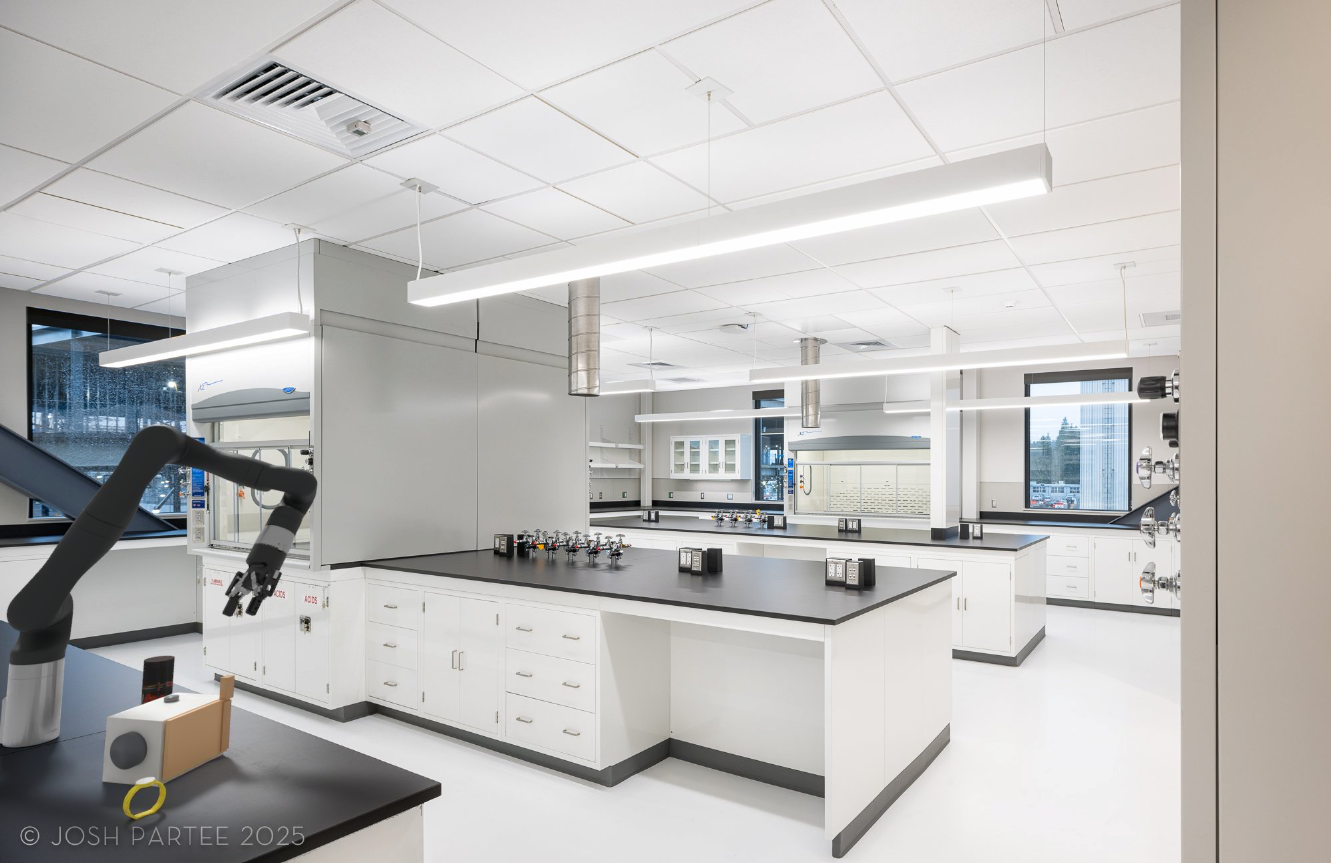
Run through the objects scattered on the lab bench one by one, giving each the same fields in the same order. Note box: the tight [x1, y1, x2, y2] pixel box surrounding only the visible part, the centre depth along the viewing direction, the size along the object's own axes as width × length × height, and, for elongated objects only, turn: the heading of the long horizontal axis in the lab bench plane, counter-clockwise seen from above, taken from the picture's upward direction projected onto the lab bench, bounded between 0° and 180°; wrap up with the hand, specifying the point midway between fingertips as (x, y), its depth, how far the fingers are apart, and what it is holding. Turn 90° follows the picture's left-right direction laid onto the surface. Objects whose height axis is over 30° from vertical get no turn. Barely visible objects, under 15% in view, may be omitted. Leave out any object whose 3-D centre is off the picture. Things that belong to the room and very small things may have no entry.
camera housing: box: [102, 692, 224, 788], centre depth 140 cm, size 12×18×13 cm
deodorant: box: [140, 655, 176, 705], centre depth 165 cm, size 6×6×15 cm
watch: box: [122, 777, 167, 820], centre depth 121 cm, size 6×3×6 cm, turn 151°
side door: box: [162, 674, 236, 781], centre depth 140 cm, size 2×15×16 cm, turn 172°
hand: (238, 615), depth 156 cm, fingers open, 8 cm apart
